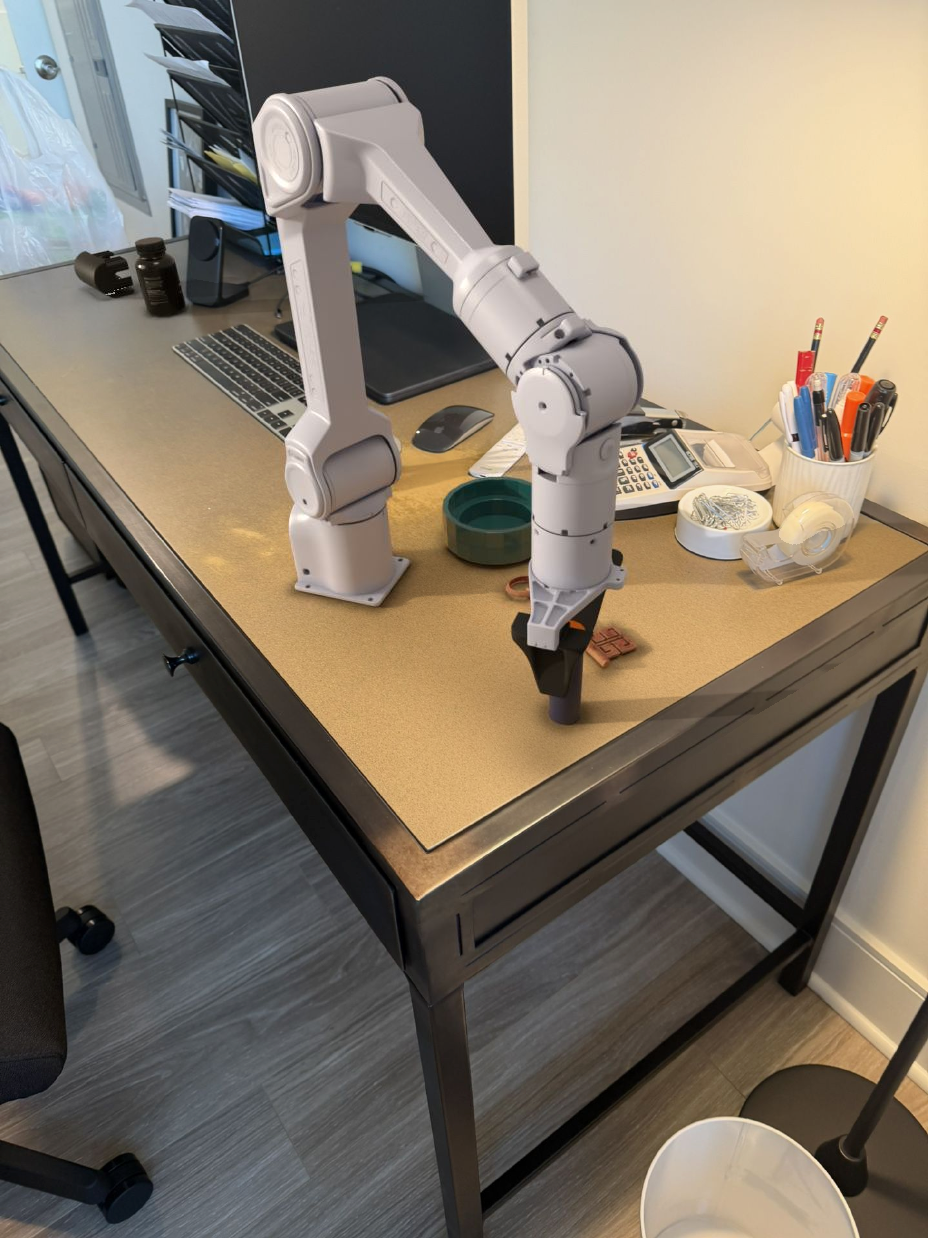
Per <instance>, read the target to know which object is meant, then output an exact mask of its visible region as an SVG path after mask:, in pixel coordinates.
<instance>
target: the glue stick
mask: <svg viewBox="0 0 928 1238" xmlns="http://www.w3.org/2000/svg"><path fill="white" fill-rule="evenodd" d="M568 622H570V627H573V628H578V629H583V630H585V628H584V627H583V626H582V625H581V624H580V623H578V622H576V621H572V620H569V621H568ZM584 654H585V652H584V653H583V655H582V656H581V657H580V658H579V659H578V660H577V663H576V667H575V671H574V675H573V679H572V683H571V686H570V689H569V691H568V693H567V696H566V698H564V699H563V698H558V697H554V696H549V695H548V716H549V718H550V719H551V720H552V721H553V722H554V723H556V724H559V725H563V726H565V725H566V726H567V725H572V724H574V723H575V722H577V721H578V720H579V719H580V717H581V709H582V708H581V706H582V688H583V687H582V686H583V670H584V657H585V656H584Z"/></svg>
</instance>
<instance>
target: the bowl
mask: <svg viewBox="0 0 928 1238" xmlns="http://www.w3.org/2000/svg"><path fill="white" fill-rule="evenodd" d="M441 509H442V510H441V511H442V525H443V540H444V542H445V543H446V546H447V548H448V550H450V551H451V552H452V553H453V554H455V556H457V557H459V558H461V559H463V560H466V561H468V562H471V563H477V564H480V565H481V564H482V565H487V566H490V565H491V566H493V565H494V566H496V565H497V566H498V565H499V566H502V565H511V564H515V563H520V562H523V561H525V560H527V559H531V558H532V481H529V480H527V479H522V478H517V477H510V476H486V477H485V476H484V477H480V478H474V479H470V480H468V481H466V482H463V483H460V484H458V485H457V486H456V487H454V488H452V489H451V490H450V491H449V492H448V493H447V494H446V495H445V497H444V498H443V501H442V507H441Z"/></svg>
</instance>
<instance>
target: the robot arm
mask: <svg viewBox="0 0 928 1238" xmlns="http://www.w3.org/2000/svg"><path fill="white" fill-rule="evenodd" d="M251 131H252V138H253V144H254V150H255V155H256V156H255V157H256V162H257V167H258V168H257V169H258V173H259V180H260V186H261V190H262V195H263V199H264V205H265V211H266V214H267V215H268V216H269V217H273V218H275V220H276V226H277V232H278V238H279V244H280V250H281V256H282V263H283V268H284V275H285V279H286V286H287V291H288V298H289V299H288V300H289V304H290V311H291V315H292V322H293V328H294V332H295V333H294V334H295V341H296V346H297V352H298V357H299V366H300V372H301V377H302V383H303V389H304V395H305V401H306V406H307V408H306V410H305V412H304V413H303V414H302V415H301V417H300V418H299V419H298V420H297V422H296V423H295V425H294V426H293V427H292V429H291V430H290V431H289V432H288V434H287V435H286V437H285V439H284V445H285V452H286V455H285V456H286V462H285V468H284V480H285V484H286V488H287V490H288V493H289V495H290V497H291V499H292V501H293V503H294V504H293V506H292V508H291V510H290V514H289V519H288V537H289V543H290V546H291V551H292V557H293V563H294V566H295V570H296V576H297V580H298V581H296V583H295V584H294V589H295V590H296V591H299V592H304V593H309V594H312V595H313V594H314V595H319V596H323V597H328V598H331V599H337V600H342V601H347V602H352V603H357V604H361V605H366V606H371V607H379V606H380V605H381V604H382V603H383V602H384V600H385V599H386V597H387V596H388V595H389V594H390V592H391V590H392V589H393V588H394V586H395V585H396V584H397V583H398V581H399V580H400V578H401V577H402V575H404V573H405V571H406V570H407V569H408V567H409V566H410V564H411V561H410V559H409V558H407V557H406V558H405V557H400V556H395V555H394V554H393V546H392V536H391V529H390V527H391V526H390V520H389V519H390V518H389V510H388V503H387V502H388V500H389V499H391V498H392V497H393V489H392V486H393V485H396V484H397V483H398V482H399V481H400V479H401V476H402V465H403V463H402V456H401V453H400V452H399V449H398V447H397V445H396V443H395V440H394V437H393V436H394V434H393V429H392V421H391V419H390V418H389V417H388V416H387V415H386V414H384V413H383V412H382V411H380V410H379V409H377V408H376V407H375V406H372V405H369V404H368V400H367V392H366V383H365V375H364V365H363V356H362V349H361V342H360V341H361V340H360V333H359V324H358V314H357V307H356V298H355V291H354V283H353V282H354V281H353V273H352V266H351V265H352V264H351V257H350V248H349V239H348V232H347V220H348V219H349V218H350V216H351V215H352V214H353V213H354V211H355V210H356V209H357V208H358V206H359V205H360V204H362V205H363V204H366V205H378V206H380V207H381V208H382V209H383V210H384V211H385V212H386V214H388V215H389V216H390V217H391V218H392V220H393V221H394V222H395V223H396V224H397V225H398V226H399V227H400V228H401V229H402V230H403V231H404V232H405V233H406V235H408V236H409V237H410V238H411V239H412V240H413V241H414V242H415V243H416V244H417V245H418V246H419V248H420V249H421V250H422V251H423V252H424V253H425V254H426V255H427V256H428V257H429V258H430V259H431V260H432V261H433V263H435V264H436V265H437V266H438V267H439V268H440V269H441V271H442V272H443V273H445V275H446V276H447V277H448V278H449V279H450V280H451V281H452V283H453V285H452V286H453V289H452V308H453V312H454V313H455V314H456V316H457V317H458V318H459V319H460V320H461V322H462V323H463V324H464V326H465V327H466V328H467V329H468V330H469V331H470V334H472V336H473V337H474V338H475V339H476V340H477V342H478V343H479V344H480V345H481V346H482V348H483V349H484V350H485V351H486V353H487V354H488V356H490V358H491V359H492V360H493V361H494V363H495V364H496V365H497V366H498V368H500V370H501V372H503V374H504V375H505V376H506V377H507V379H508V380H509V381H510V382H511V383H512V385H513V386H514V387H515V390H514V389H513V390H511V391H510V396H511V403H512V408H513V411H514V414H515V417H516V420H517V422H518V424H519V426H520V428H521V429H522V432H523V435H524V440H525V455H527V456H528V461H529V463H530V464H531V483H532V557H530V560H529V562H528V576H529V581H528V585H529V588H530V596H529V598H530V599H529V601H530V613H528V612H523V611H518V612H517V614H516V616H515V618H514V619H513V621H512V623H511V626H510V628H511V629H510V635H511V640H512V641H513V643H514V644H516V646H518V648H519V650H521V651H522V653H523V654H524V656H525V657H526V659H527V661H528V663H529V666H530V668H531V671H532V674H533V677H534V680H535V683H536V686H537V689H538V692H539V694H541V695H546V696H548V697H549V696H554V697H558V698H563V699H564V698H566V696H567V693H568V691H569V689H570V686H571V683H572V679H573V675H574V671H575V667H576V663H577V660H578V659H579V658H580V657H581V656H582V655H583V653H584V654H585V652H586V649H587V647H588V645H589V643H590V640H591V638H592V636H593V633H594V630H595V627H596V625H597V621H598V620H599V616H600V612H601V608H602V605H603V602H604V598H605V595H606V592H607V590H613V591H620V590H622V589H623V588H624V586H625V584H626V581H627V579H628V570H627V569H626V567H624V566H622V564H623V562H624V555H623V554H624V553H622V552H621V551H620V550H618V549H616V548H613V542H614V529H615V518H616V517H615V516H616V506H617V505H616V504H617V492H618V478H619V468H620V467H619V464H620V453H621V439H622V438H621V437H622V427H623V423H622V422H621V421H620V420H622V419H624V418H625V417H626V416H627V415H629V414H631V412H633V411H634V410H635V409H636V408H637V406H638V405H639V403H640V402H641V400H642V396H643V394H644V387H645V385H644V384H645V380H644V379H645V378H644V377H645V376H644V372H643V371H644V370H643V367H642V363H641V361H640V359H639V356H638V354H637V353H636V351H635V350H634V348H633V347H632V346H631V343H630V342H629V340H628V338H627V336H625V335H624V334H622V333H621V332H620V331H618V330H616V329H613V328H610V327H606V326H605V327H603V326H598V325H597V324H595V323H594V322H593V320H591V319H590V318H588V319H587V318H586V317H583V318H581V317H580V315H579V314H578V313H577V312H576V311H575V310H574V309H573V307H571V305H570V304H569V302H567V300H566V299H565V298H564V297H563V295H561V293H560V292H559V291H558V290H557V288H556V287H555V286H554V285H553V284H552V283H551V281H550V280H549V278H547V276H546V275H545V274H544V273H543V271H541V270H540V263H539V262H538V261H537V259H536V258H535V257H534V256H533V255H532V253H531V252H529V251H525V250H524V249H523V248H522V247H520V246H518V245H514V244H506V245H501V244H494V243H493V241H492V240H491V238H490V236H489V235H488V234H487V233H486V232H485V231H486V230H484V229H483V227H482V226H481V223H479V221H478V220H477V219H476V217H475V216H474V214H473V213H472V212H471V210H470V209H469V207H468V206H467V204H466V203H465V201H464V200H463V199H462V197H461V196H460V194H459V193H458V192H457V190H456V188H455V187H454V186H453V184H452V183H451V182H450V180H449V179H448V178H447V176H446V175H445V173H444V172H443V171H442V170H443V169H441V167H440V166H439V165H438V163H437V162H436V160H435V159H434V157H433V156H432V154H431V153H430V152H429V150H428V149H427V148H426V146H425V132H424V124H423V118H422V114H421V111H420V110H419V109H418V108H417V107H416V106H414V105H413V104H412V103H411V102H410V101H409V99H408V97H407V95H406V94H405V92H404V90H403V89H402V88H401V86H399V84H397V83H396V81H394V79H393V80H392V78H389V77H386V76H375V77H372V78H368V79H367V80H366V81H360V82H354V83H349V84H341V85H337V86H331V87H325V88H319V89H313V90H308V91H302V92H296V93H295V92H294V93H290V94H289V93H285V92H279V93H274V94H272V95H269V97H267V98H266V100H265V101H264V103H263V104H262V106H261V108H260V110H259V112H258V114H257V116H256V118H255V119H254V121H253V123H252V125H251ZM619 421H620V422H619ZM569 620H572V621H576V622H578V623H580V624H581V625H582V626H583V627H584V628H585V630H583V629H578V628H573V627H570V622H568V621H569Z"/></svg>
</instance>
